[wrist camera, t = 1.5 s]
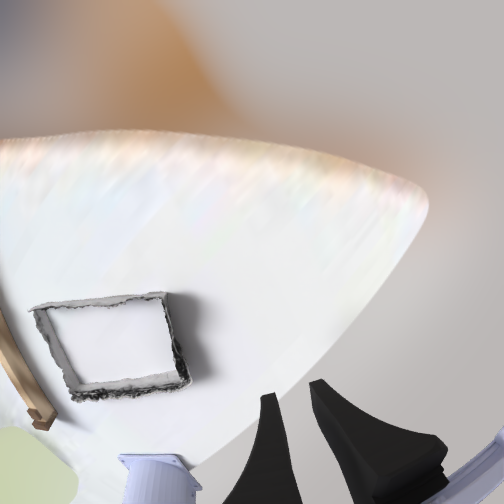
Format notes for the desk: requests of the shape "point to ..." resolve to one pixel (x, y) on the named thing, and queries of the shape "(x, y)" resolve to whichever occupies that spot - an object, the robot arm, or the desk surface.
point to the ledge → (24, 380)
